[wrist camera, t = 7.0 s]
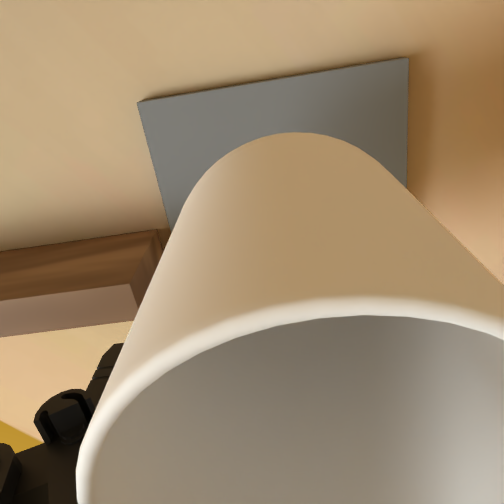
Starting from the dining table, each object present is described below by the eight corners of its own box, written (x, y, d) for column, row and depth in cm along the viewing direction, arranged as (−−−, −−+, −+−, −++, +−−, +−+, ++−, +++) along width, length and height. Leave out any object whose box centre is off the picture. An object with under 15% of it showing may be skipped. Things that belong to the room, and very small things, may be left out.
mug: (337, 396, 20) (411, 717, 11) (136, 241, 16) (-28, 522, 7) (494, 286, 17) (789, 592, 8) (293, 69, 14) (384, 142, 4)
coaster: (140, 100, 21) (136, 102, 20) (403, 57, 20) (408, 57, 19) (195, 311, 27) (194, 319, 26) (400, 285, 26) (404, 292, 25)
